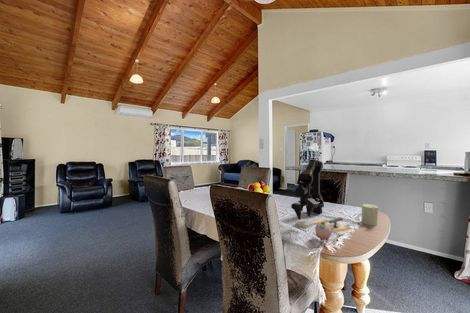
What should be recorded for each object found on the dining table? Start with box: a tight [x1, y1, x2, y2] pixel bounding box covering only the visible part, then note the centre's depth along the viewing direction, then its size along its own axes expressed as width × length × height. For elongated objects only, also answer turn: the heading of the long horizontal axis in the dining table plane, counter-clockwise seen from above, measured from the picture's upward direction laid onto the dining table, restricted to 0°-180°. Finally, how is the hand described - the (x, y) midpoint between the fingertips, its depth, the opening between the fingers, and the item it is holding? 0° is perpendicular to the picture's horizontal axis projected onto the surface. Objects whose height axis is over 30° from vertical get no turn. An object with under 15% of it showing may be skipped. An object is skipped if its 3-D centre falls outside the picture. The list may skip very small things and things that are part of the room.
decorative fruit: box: [314, 222, 333, 241], centre depth 120 cm, size 9×8×10 cm
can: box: [360, 203, 379, 227], centre depth 145 cm, size 9×9×12 cm
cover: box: [295, 218, 314, 229], centre depth 137 cm, size 8×6×3 cm
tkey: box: [328, 216, 344, 227], centre depth 134 cm, size 11×2×5 cm, turn 121°
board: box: [310, 217, 355, 235], centre depth 137 cm, size 22×14×2 cm, turn 36°
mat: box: [292, 225, 307, 232], centre depth 137 cm, size 10×10×1 cm
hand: (304, 218), depth 137 cm, fingers open, 9 cm apart
